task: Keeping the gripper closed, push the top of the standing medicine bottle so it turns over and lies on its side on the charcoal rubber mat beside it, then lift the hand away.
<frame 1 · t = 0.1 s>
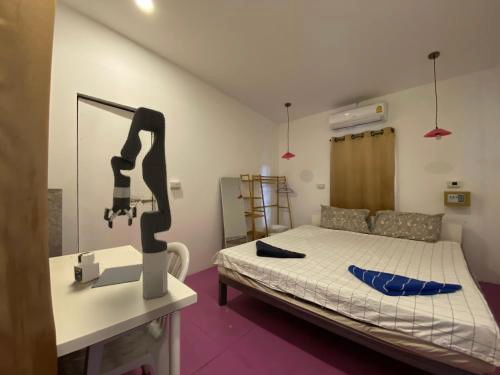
hand: (120, 226, 107), 22 cm above the table, tool pointing down, fingers open, 8 cm apart
mat: (121, 274, 102), on the table
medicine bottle: (87, 279, 97), on the table, touching mat
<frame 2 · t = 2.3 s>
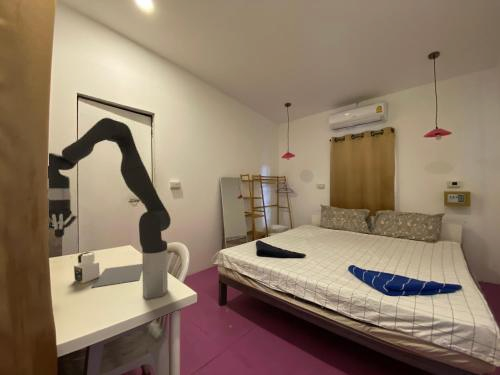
hand: (59, 237, 93), 21 cm above the table, tool pointing down, fingers closed
nothing on the table moved.
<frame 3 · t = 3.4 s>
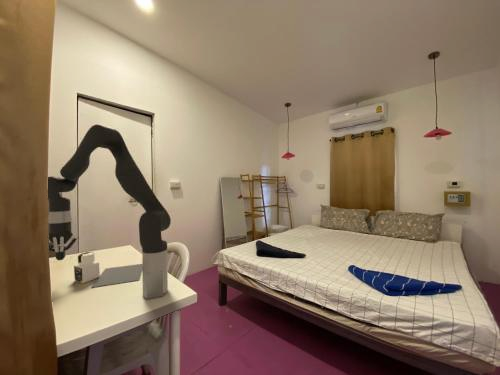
hand: (60, 259, 93), 10 cm above the table, tool pointing down, fingers closed
nothing on the table moved.
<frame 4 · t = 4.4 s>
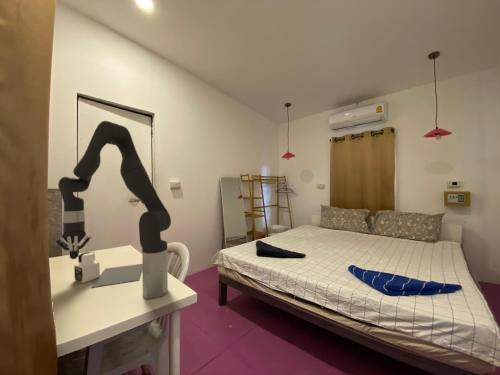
hand: (74, 258, 95), 10 cm above the table, tool pointing down, fingers closed
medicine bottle: (87, 279, 97), on the table, touching gripper, mat
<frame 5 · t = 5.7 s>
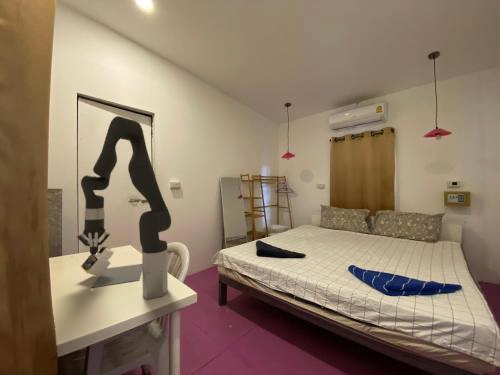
hand: (94, 254, 99), 11 cm above the table, tool pointing down, fingers closed
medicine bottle: (89, 272, 97), point 3 cm above the table, touching gripper, mat
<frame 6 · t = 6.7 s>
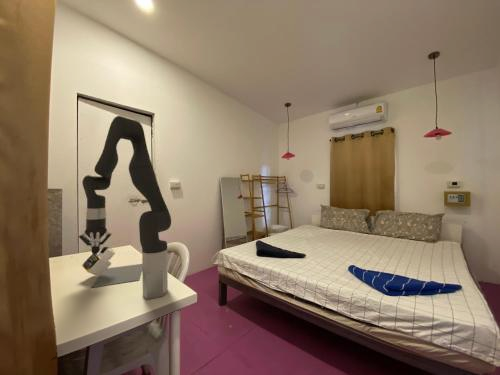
hand: (95, 253, 99), 11 cm above the table, tool pointing down, fingers closed
nothing on the table moved.
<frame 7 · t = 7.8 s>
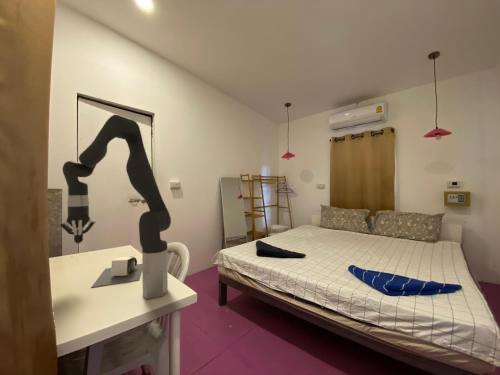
hand: (78, 242, 96), 17 cm above the table, tool pointing down, fingers closed
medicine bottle: (118, 268, 98), point 5 cm above the table, touching mat
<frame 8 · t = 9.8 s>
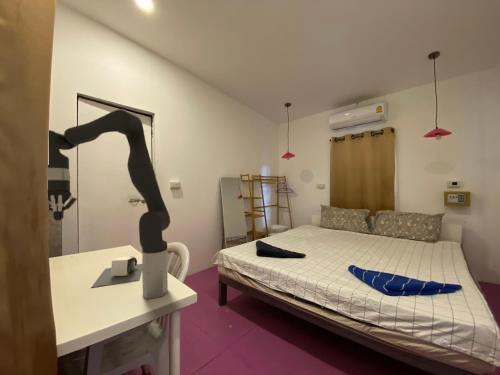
hand: (58, 220, 88), 29 cm above the table, tool pointing down, fingers closed
nothing on the table moved.
at the end: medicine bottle tilted 97°; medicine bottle touching mat; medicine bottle inside the target area (5.8 cm from its centre), point 4.8 cm above the table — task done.
